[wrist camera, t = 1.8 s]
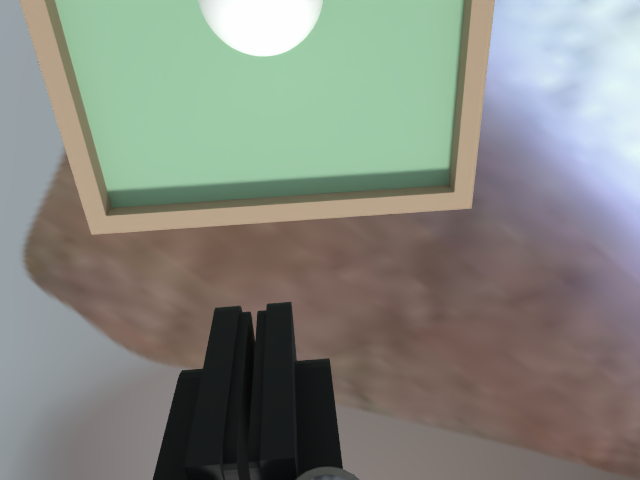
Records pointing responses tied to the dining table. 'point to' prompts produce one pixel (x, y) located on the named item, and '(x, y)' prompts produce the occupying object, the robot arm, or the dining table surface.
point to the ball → (261, 23)
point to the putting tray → (264, 111)
